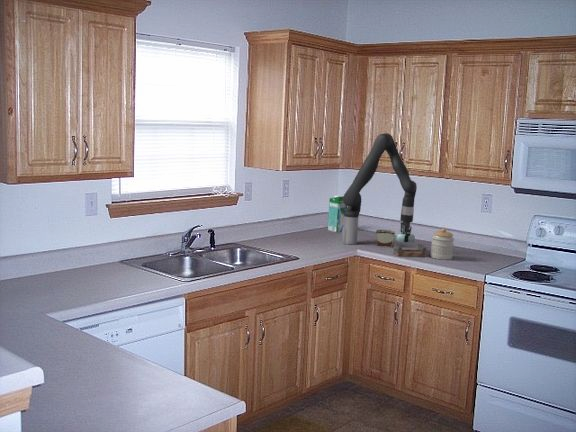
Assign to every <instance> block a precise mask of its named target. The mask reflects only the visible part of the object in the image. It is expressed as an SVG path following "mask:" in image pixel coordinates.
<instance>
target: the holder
mask: <svg viewBox="0 0 576 432" xmlns="http://www.w3.org/2000/svg"><path fill="white" fill-rule="evenodd" d="M392 254H394V255H395V256H397V257H398V258H399V257H405V258H407V257H409V258H410V257H411V258H426V257H427V247H426V246H424V245H422V244H417V249H412V248H411V249H409V248H408V249H407V248H404V249H403V247H402V246H401V245H399V244H398V243H397V244H396V243H394V244H393V253H392Z"/></svg>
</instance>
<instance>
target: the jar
mask: <svg viewBox="0 0 576 432" xmlns="http://www.w3.org/2000/svg"><path fill="white" fill-rule="evenodd" d="M453 236H454V234H453V233H451V232H450V231H448V230H447V229H446V228H444V227H443V228H442V229H441V230H437V231H435V232H434V233H433V236H431V239H432V241H431V242H430V243H431V247H430V248H431V249H430V257H431V258H433V259H437V260H443V261H445V260H446V261H447V260H448V261H449V260H452V259H453V256H454V241H455V238H454V237H453Z"/></svg>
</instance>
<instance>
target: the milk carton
mask: <svg viewBox="0 0 576 432" xmlns="http://www.w3.org/2000/svg"><path fill="white" fill-rule="evenodd" d="M343 197H344V195H343V196H341V195H334V197H329V199H328V200H329V205H328V218H327V219H328V220H327V231H330V232H334V233H342V228H343V225H344V212H345V211H346V209H347V207H348V206H346V205H345V204H344V202H343Z"/></svg>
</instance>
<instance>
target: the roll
mask: <svg viewBox="0 0 576 432" xmlns="http://www.w3.org/2000/svg"><path fill="white" fill-rule="evenodd" d="M404 238H405V234H401V233H396V235H395V240H396V242H397V243H405V242H404ZM415 240H416V237H415V234H413V233H411V234H410V236H408V242H407V243H414V242H415Z"/></svg>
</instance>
